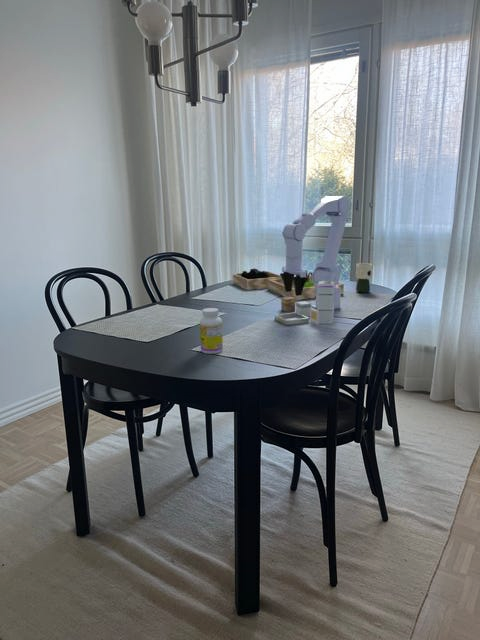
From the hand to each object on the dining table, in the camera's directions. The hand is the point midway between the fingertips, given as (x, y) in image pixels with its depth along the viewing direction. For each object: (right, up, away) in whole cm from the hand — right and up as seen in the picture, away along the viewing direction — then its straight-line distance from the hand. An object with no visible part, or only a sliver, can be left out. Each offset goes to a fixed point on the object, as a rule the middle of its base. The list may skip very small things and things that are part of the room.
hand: (293, 293), depth 178 cm
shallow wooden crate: (-11, +8, +63) cm, 64 cm away
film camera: (-12, +7, +62) cm, 63 cm away
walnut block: (-1, -6, +11) cm, 13 cm away
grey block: (+4, -8, +3) cm, 10 cm away
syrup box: (+11, -11, -6) cm, 16 cm away
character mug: (+37, +3, +42) cm, 56 cm away
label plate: (+7, -11, -8) cm, 15 cm away
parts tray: (-1, -10, -4) cm, 11 cm away
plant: (+11, +2, +43) cm, 44 cm away
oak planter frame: (+10, +3, +44) cm, 45 cm away
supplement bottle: (-29, -19, -35) cm, 49 cm away
